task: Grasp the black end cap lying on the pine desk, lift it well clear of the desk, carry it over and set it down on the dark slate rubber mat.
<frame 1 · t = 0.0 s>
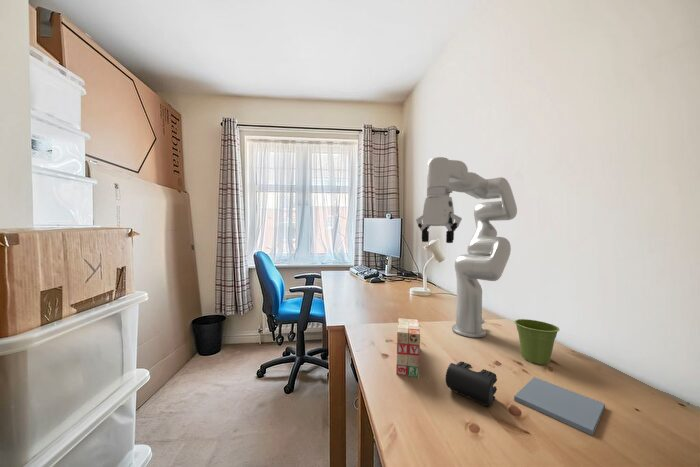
hand: (436, 242, 93), 37 cm above the table, tool pointing down, fingers open, 9 cm apart
slate mat: (558, 403, 62), on the table
stack of blocks: (407, 359, 83), on the table
plant pot: (535, 360, 84), on the table
end cap: (471, 397, 64), on the table
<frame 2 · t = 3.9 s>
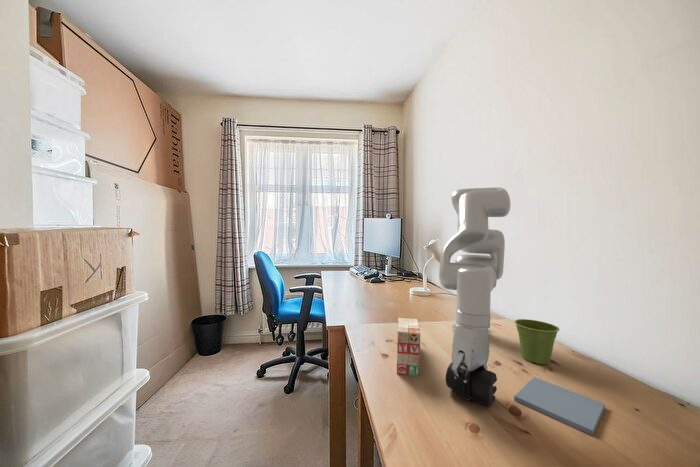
hand: (471, 390, 64), 2 cm above the table, tool pointing down, fingers closed on end cap, 7 cm apart
end cap: (471, 397, 64), on the table, touching gripper
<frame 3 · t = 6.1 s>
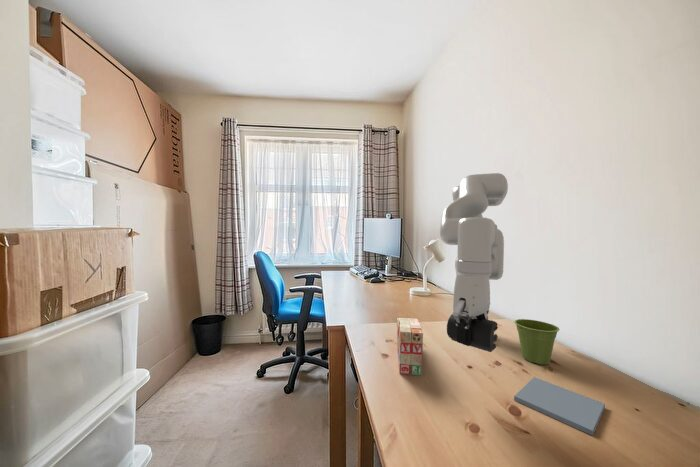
hand: (472, 339, 65), 14 cm above the table, tool pointing down, fingers closed on end cap, 7 cm apart
end cap: (472, 346, 65), point 12 cm above the table, touching gripper
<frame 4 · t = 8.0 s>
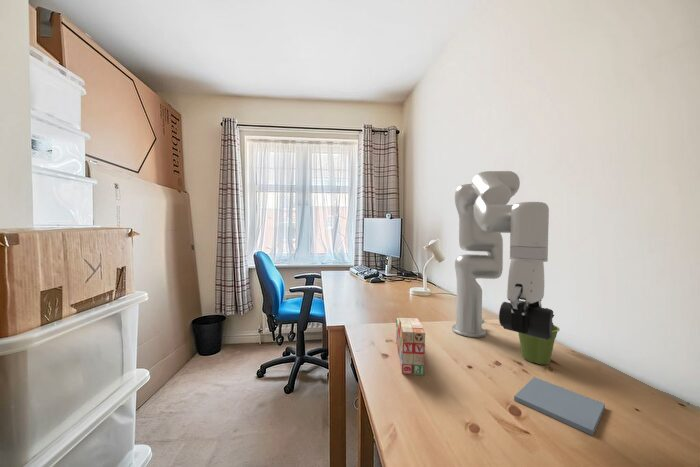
hand: (526, 327, 63), 18 cm above the table, tool pointing down, fingers closed on end cap, 7 cm apart
end cap: (526, 334, 63), point 16 cm above the table, touching gripper
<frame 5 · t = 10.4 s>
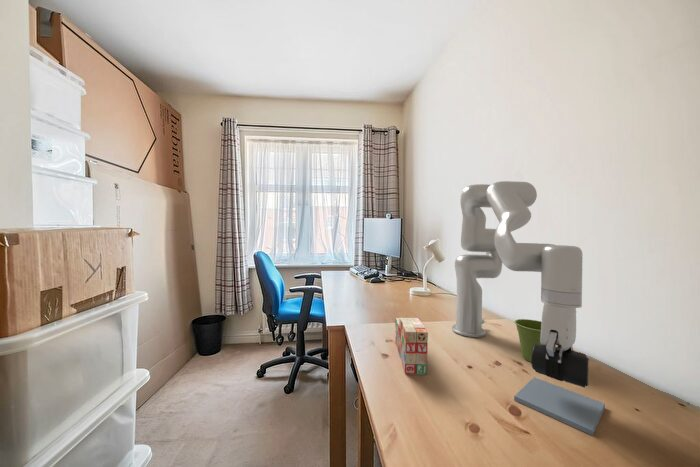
hand: (559, 372, 62), 8 cm above the table, tool pointing down, fingers closed on end cap, 7 cm apart
end cap: (559, 379, 62), point 6 cm above the table, touching gripper
when the fingers open (4 cm above the table, at t = 12.2 s): end cap drops 1 cm, resting on slate mat.
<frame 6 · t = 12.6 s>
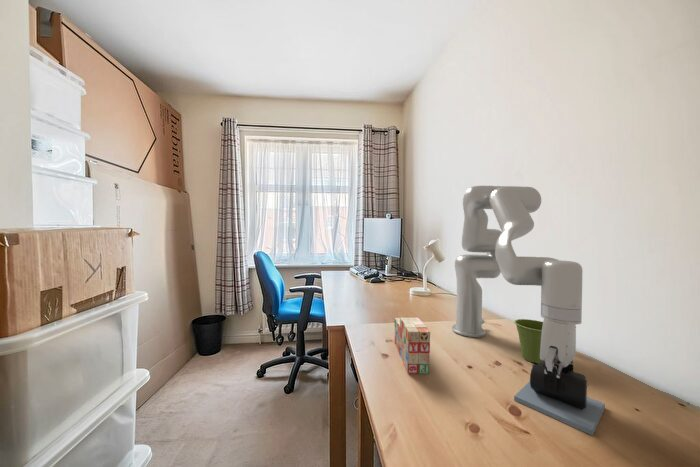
hand: (559, 385, 62), 4 cm above the table, tool pointing down, fingers open, 9 cm apart
end cap: (558, 400, 62), point 1 cm above the table, touching slate mat
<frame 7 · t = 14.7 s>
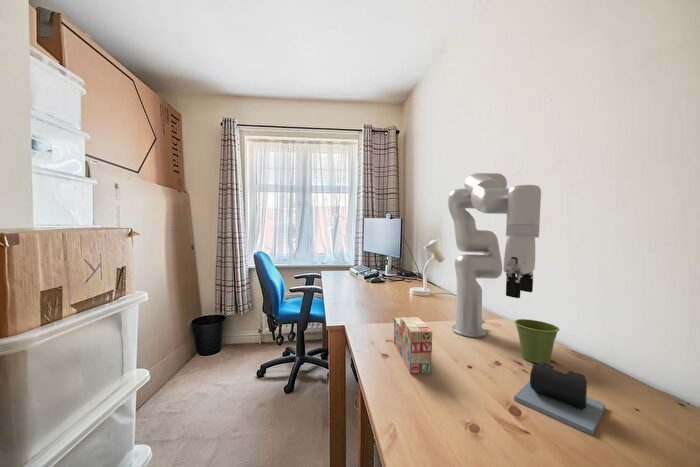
hand: (519, 294, 72), 24 cm above the table, tool pointing down, fingers open, 9 cm apart
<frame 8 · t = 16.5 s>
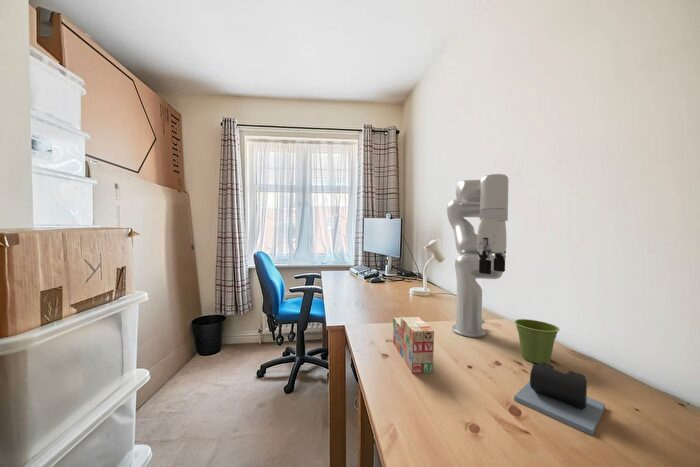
hand: (492, 272, 80), 28 cm above the table, tool pointing down, fingers open, 9 cm apart
at the end: end cap inside the target area on the slate mat (0.1 cm from its centre), point 0.8 cm above the slate mat's base; end cap touching slate mat; the gripper is holding nothing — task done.
